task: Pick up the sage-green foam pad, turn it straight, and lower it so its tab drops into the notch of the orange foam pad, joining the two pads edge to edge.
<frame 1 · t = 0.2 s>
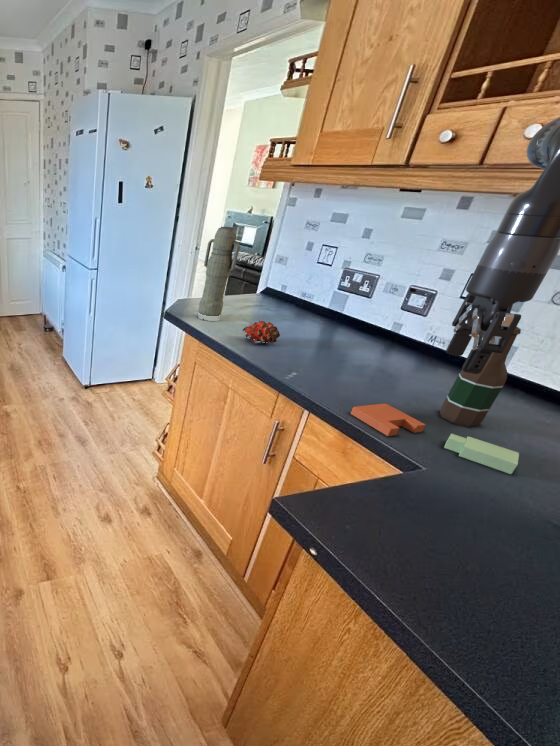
hand: (461, 363, 70), 25 cm above the counter, tool pointing down, fingers open, 8 cm apart
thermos: (208, 318, 169), on the counter
beer bottle: (457, 419, 102), on the counter
sage pad: (485, 459, 87), on the counter
orange pad: (385, 422, 99), on the counter
dragon fruit: (258, 343, 145), on the counter
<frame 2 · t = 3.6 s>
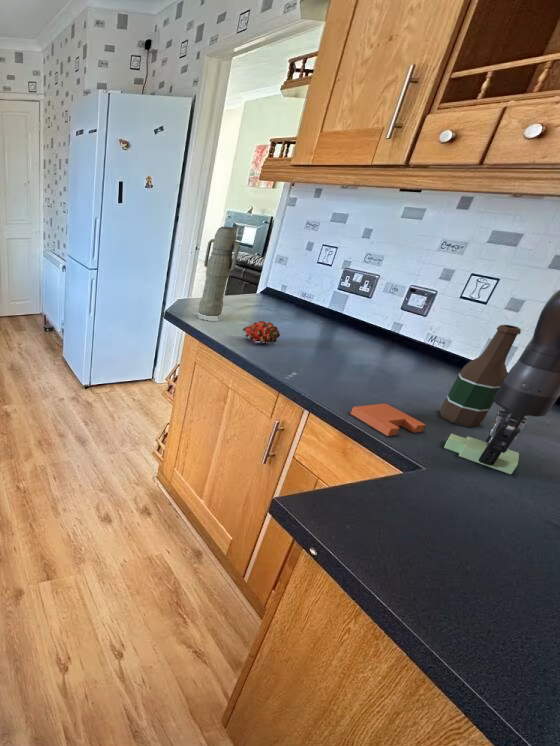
hand: (486, 456, 87), 1 cm above the counter, tool pointing down, fingers closed on sage pad, 6 cm apart
sage pad: (485, 459, 87), on the counter, touching gripper
everything else where it was.
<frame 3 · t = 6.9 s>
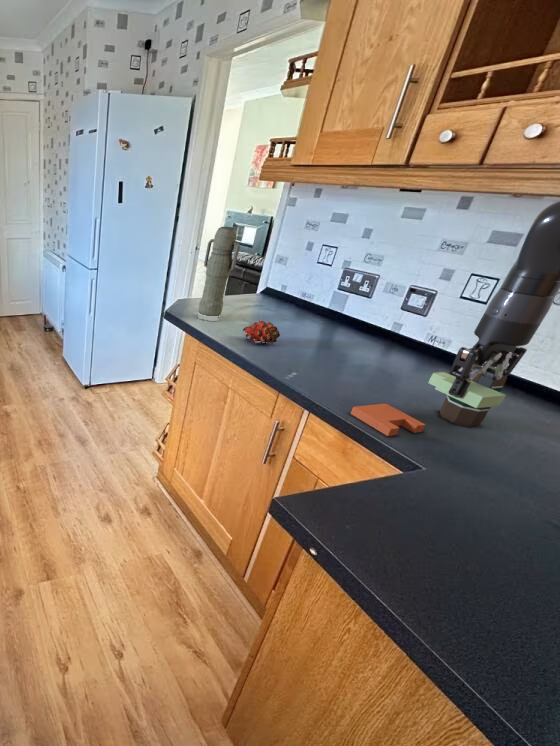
hand: (467, 394, 84), 13 cm above the counter, tool pointing down, fingers closed on sage pad, 6 cm apart
sage pad: (465, 397, 84), point 13 cm above the counter, touching gripper
everything else where it was.
when the fingers open (1 cm above the counter, at t = 10.1 s): sage pad stays where it is, on the counter.
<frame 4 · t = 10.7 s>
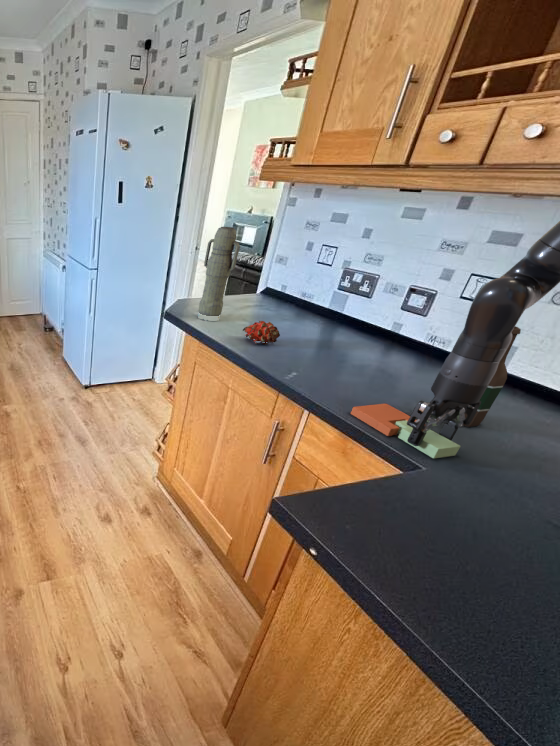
hand: (428, 442, 90), 1 cm above the counter, tool pointing down, fingers open, 8 cm apart
sage pad: (425, 446, 91), on the counter
everything else where it was.
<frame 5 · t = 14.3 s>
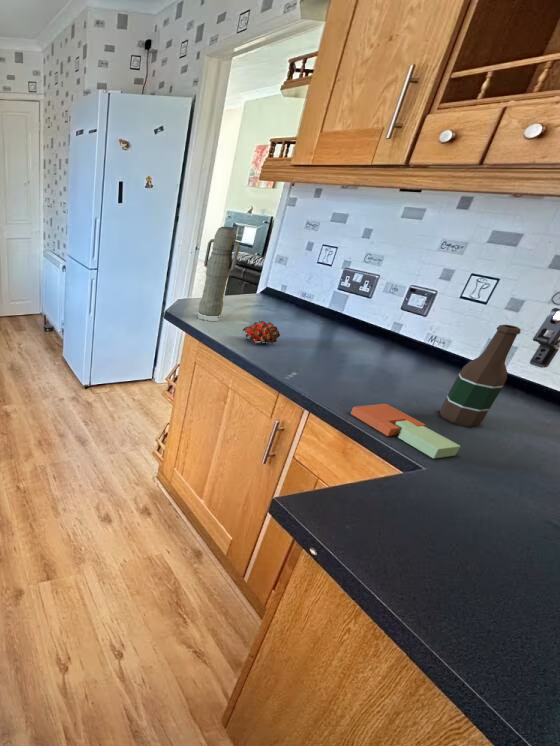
hand: (554, 364, 74), 23 cm above the counter, tool pointing down, fingers open, 8 cm apart
nothing on the counter moved.
at the end: sage pad 0.1 cm from the target spot on the counter beside the orange pad, on the counter; sage pad tilted 0°; the gripper is holding nothing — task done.
